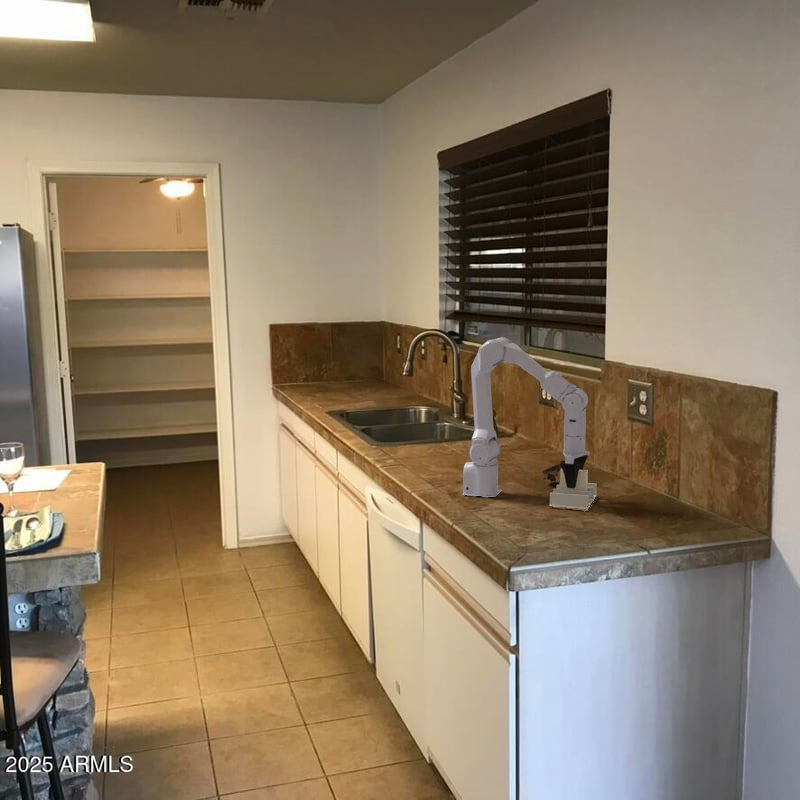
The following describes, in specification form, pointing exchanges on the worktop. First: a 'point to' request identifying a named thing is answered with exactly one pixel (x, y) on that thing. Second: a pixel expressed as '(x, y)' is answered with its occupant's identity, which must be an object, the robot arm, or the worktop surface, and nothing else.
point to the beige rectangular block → (581, 481)
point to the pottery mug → (551, 472)
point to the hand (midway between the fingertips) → (573, 484)
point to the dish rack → (573, 497)
